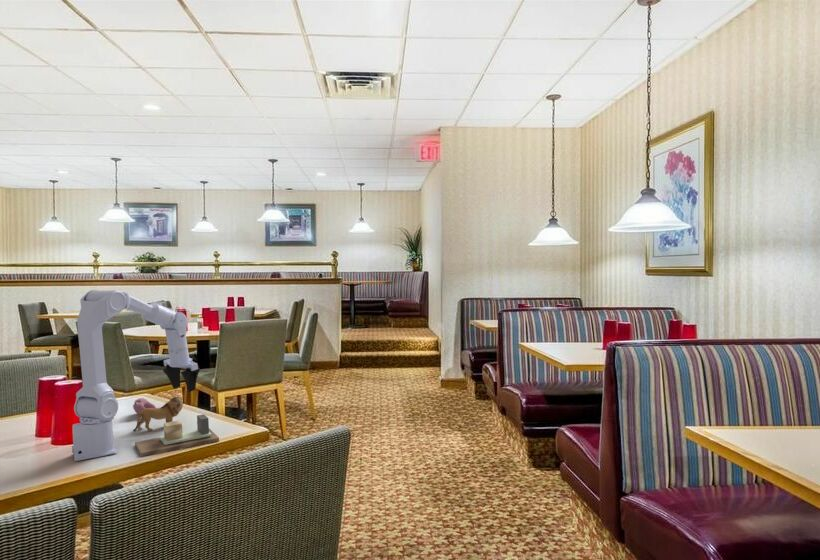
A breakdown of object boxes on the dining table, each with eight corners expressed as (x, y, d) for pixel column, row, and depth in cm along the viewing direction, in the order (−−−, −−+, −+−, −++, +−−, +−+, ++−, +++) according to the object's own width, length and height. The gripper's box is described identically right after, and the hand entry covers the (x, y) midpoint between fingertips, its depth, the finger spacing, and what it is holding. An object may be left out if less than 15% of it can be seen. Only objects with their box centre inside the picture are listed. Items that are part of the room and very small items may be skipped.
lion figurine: (181, 421, 173) (179, 393, 172) (186, 425, 169) (185, 396, 168) (130, 431, 163) (129, 402, 163) (135, 435, 159) (133, 405, 159)
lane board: (141, 456, 141) (140, 453, 140) (135, 445, 150) (135, 442, 150) (219, 441, 152) (219, 437, 152) (209, 431, 161) (209, 428, 161)
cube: (167, 440, 147) (166, 426, 147) (164, 437, 151) (163, 423, 150) (182, 437, 150) (182, 423, 149) (179, 434, 153) (179, 420, 153)
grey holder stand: (164, 445, 146) (163, 426, 145) (159, 438, 151) (159, 421, 151) (211, 435, 153) (211, 418, 152) (205, 430, 158) (205, 413, 158)
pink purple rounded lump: (145, 416, 186) (134, 399, 185) (157, 409, 187) (147, 392, 186) (139, 424, 176) (128, 406, 175) (153, 416, 178) (142, 398, 176)
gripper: (203, 346, 170) (209, 387, 172) (174, 343, 178) (180, 382, 180) (184, 353, 164) (190, 395, 166) (155, 349, 172) (162, 389, 174)
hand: (184, 389), depth 173 cm, fingers open, 7 cm apart
